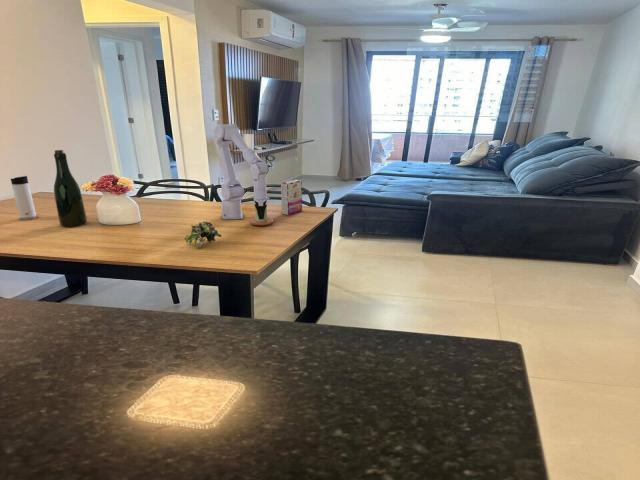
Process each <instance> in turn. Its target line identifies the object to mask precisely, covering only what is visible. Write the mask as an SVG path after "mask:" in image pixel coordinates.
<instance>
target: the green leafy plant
mask: <svg viewBox="0 0 640 480" xmlns="http://www.w3.org/2000/svg"><path fill="white" fill-rule="evenodd" d="M190 227H191V231H190V234H189V235H187V234H186V235H185V237H184V241H185V243H186V244H189V245H191V243H193V244H194V245H195V246H197V241H199V248H198V249H201V247H202V245H203V243H204V242H206V241H207V242H209V243H211V242H215V241H216V238H215V237H218V238H221V237H222V234H220V233H218V230H217V229H216V227H215V226H213V223H212V222H210V221H208V220H206V221H202V222H199V223H198V224H195V225H193V224H191V225H190Z"/></svg>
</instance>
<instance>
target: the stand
mask: <svg viewBox="0 0 640 480" xmlns="http://www.w3.org/2000/svg"><path fill="white" fill-rule="evenodd" d="M248 222H249V224H250V225H254V226H259V227H260V226H262V227H265V226H267V225H271V224H273V223H274V219H273V218H272V217H268V216H267V221H264V222H258V221H256V217H253V218H250V219H249V221H248Z"/></svg>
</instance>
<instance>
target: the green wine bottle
mask: <svg viewBox="0 0 640 480" xmlns="http://www.w3.org/2000/svg"><path fill="white" fill-rule="evenodd" d="M53 158H54V162H55V170H56V173H55V175H56V176H55V179H54V184H53V195H54V201H55V207H56V212H57V217H58V222H59V225H60V226H61V227H63V228H75V227H80V226H84V225H86V224H87V223H88V218H87V214H86V208H85V204H84V199H83V195H82V191H81V187H80V186H79V184H78V182H77V181H76V179H75V177H74V176H73V174H72V173H71V169H70V167H69V163H68V158H67V154H66V152H65V151H64V149H56V150H54V153H53Z"/></svg>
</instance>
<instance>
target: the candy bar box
mask: <svg viewBox="0 0 640 480" xmlns="http://www.w3.org/2000/svg"><path fill="white" fill-rule="evenodd" d="M302 182H303V181H302V180H301V179H291V180H287V181H282V182H280V196H281V198H280V199H281V214H282V215H286V216H290V215H294V214H297V213H301V212H302V211H303V183H302Z"/></svg>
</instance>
